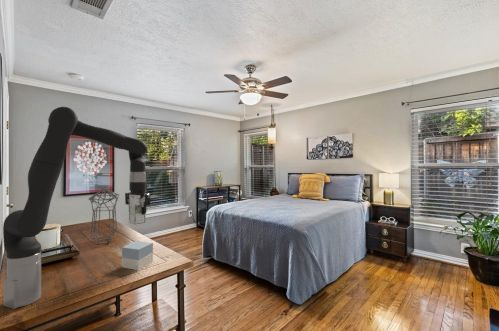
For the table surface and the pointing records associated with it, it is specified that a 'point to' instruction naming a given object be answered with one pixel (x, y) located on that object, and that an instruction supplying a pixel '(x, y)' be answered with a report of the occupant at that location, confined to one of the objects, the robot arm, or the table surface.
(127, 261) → the tower base block
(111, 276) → the table surface
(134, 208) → the syrup box
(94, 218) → the geometric lantern
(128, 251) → the tower top block
